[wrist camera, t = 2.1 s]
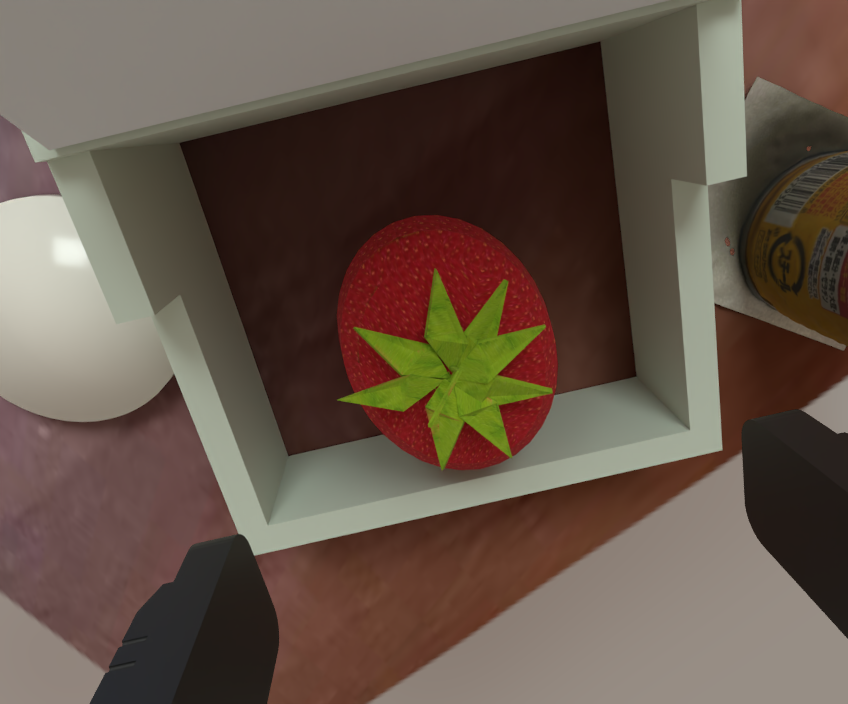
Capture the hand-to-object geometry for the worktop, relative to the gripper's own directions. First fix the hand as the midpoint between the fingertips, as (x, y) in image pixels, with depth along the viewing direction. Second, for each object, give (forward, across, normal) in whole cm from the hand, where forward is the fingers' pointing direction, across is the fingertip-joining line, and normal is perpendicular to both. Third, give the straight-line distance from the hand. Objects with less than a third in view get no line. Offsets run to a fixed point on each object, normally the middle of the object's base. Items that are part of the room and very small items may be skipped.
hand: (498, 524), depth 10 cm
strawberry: (+14, 0, 0) cm, 14 cm away
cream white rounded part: (+13, +12, -3) cm, 19 cm away
